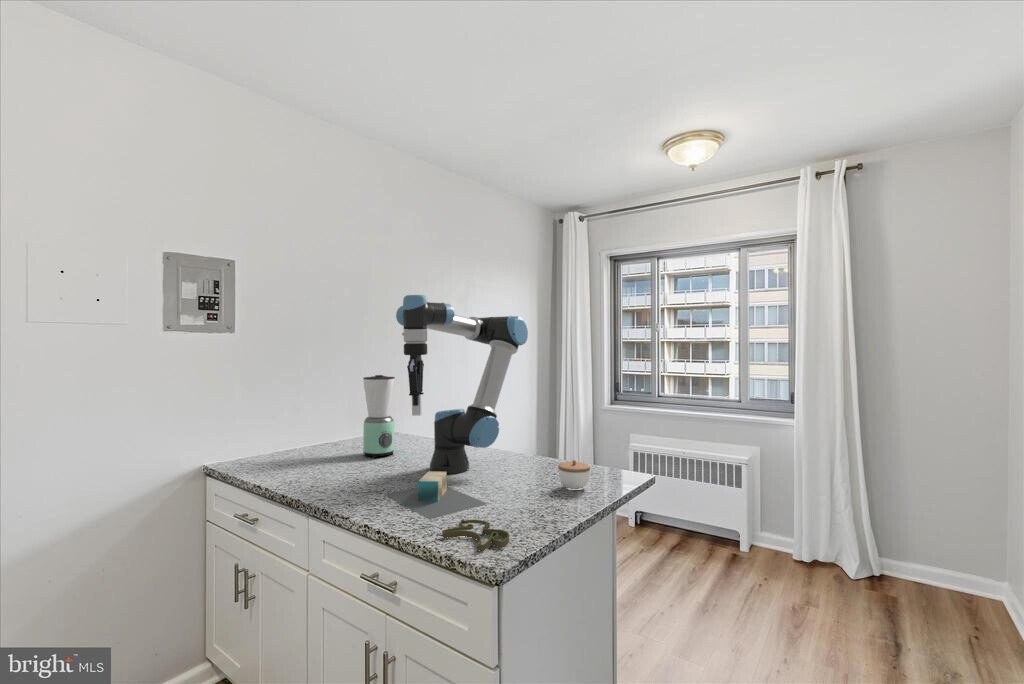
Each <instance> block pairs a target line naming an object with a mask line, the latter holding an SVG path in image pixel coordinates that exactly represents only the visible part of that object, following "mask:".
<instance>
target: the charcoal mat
mask: <svg viewBox="0 0 1024 684" xmlns="http://www.w3.org/2000/svg"><path fill="white" fill-rule="evenodd" d="M384 496H385V497H388V498H389V499H391V500H393V501H395V502H397V503H399V505H400V504H401V505H402V506H404V507H406V508H408V509H409V510H412V511H413V512H415V513H417V514H418V515H421V516H422V517H424V518H427V520H431V519H436V518H440V517H443V516H447V515H451V514H455V513H458V512H462V511H466V510H471V509H474V508H478V507H482V506H486V505H488V503H487V502H484V501H483V500H480V499H478V498H476V497H473V496H471V495H469V494H466V493H463V492H461V491H459V490H458V489H457V490H456V489H455V488H452V487H449V486H447V490H446V492H445V493H444V494H443V496H442V497H441V498H440V500H439V501H438V502H423V501H418V487H415V488H409V489H405V490H400V491H395V492H390V493H386V494H385V493H384Z"/></svg>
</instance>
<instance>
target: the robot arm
mask: <svg viewBox="0 0 1024 684" xmlns="http://www.w3.org/2000/svg"><path fill="white" fill-rule="evenodd" d="M402 301H403V302H402V305H401V306H399V307H398V308H397V310H396V313H395V318H396V321H397V323H398V324H399V325H400V326H402V327H403V332H401V335H402V336H403V342H404V344H403V355H404V356H409V360H408V365H406V366H407V372H408V373H407V375H408V385H409V394H408V396H409V397H411V416H413V417H415V416H417V417H418V416H422V395H424V392H423V389H424V388H423V385H424V367H425V365H424V360H423V359H422V356H425V355H427V354H428V343H426V342H427V341H428V330H433V331H438V332H442V333H447V334H452V335H458V336H461V337H464V338H465V339H466V340H468V341H473V342H477V343H481V344H483V345H484V344H485V345H489V346H490V348H491V349H490V352H489V355H488V358H487V361H486V363H485V367H484V370H483V373H482V376H481V379H480V382H479V385H478V388H477V390H476V394H475V395H474V396H475V397H474V400H473V403H472V404H471V405H468V406H467V408H466V411H465V409H464V408H455V409H448V410H447V409H446V410H439V411H436V413H435V414H434V423H433V425H434V430H433V431H434V450H433V453H432V457H431V460H430V463H429V471H430V470H431V471H441V472H447V473H454V474H458V473H457V472H461V473H463V472H462V471H465V470H467V469H468V470H469V469H470V462H469V458H468V456H467V451H466V448H465V446H469V447H473V448H475V449H476V448H478V449H479V448H480V449H481V448H482V449H484V448H488V447H490V446H492V445H493V444H494V443H495V442H496V440H497V438H498V436H499V434H500V427H499V426H500V422H499V421H498V419H497V417H498V415H497V412H496V408H497V404H498V401H499V398H500V394H501V390H502V388H503V384H504V382H505V377H506V376H507V371H508V368H509V366H510V362H511V359H512V356H513V355H514V354H516V353H517V352H518V349H519V346H523V345H524V344H526V343H527V340H528V337H529V333H528V331H529V330H528V327H527V323H526V322H525V320H524V319H523V318H522V316H518V315H516V316H515V315H509V316H486V317H476V316H469V317H466V316H462V315H457V314H455V313H456V312H455V309H454V307H453V305H451V304H450V303H445V302H430V301H429V302H428V300H427V295H424V294H423V295H422V294H407V295H405V296H404V297H403V300H402ZM468 470H467V471H468ZM465 472H466V471H465Z"/></svg>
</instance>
